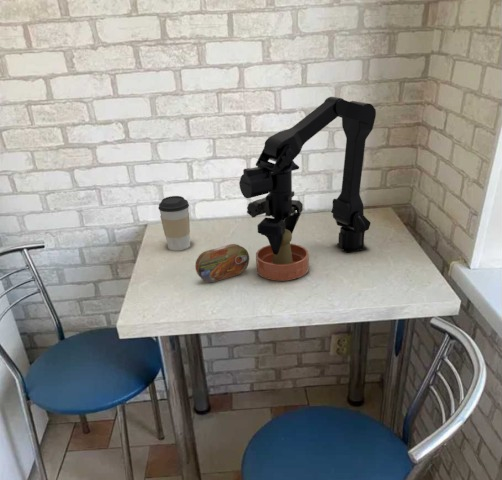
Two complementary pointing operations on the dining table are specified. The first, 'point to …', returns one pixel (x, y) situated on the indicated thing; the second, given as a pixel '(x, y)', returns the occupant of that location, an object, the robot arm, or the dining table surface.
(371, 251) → the dining table surface
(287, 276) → the bowl
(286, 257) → the cork
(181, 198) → the coffee cup
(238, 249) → the tin
